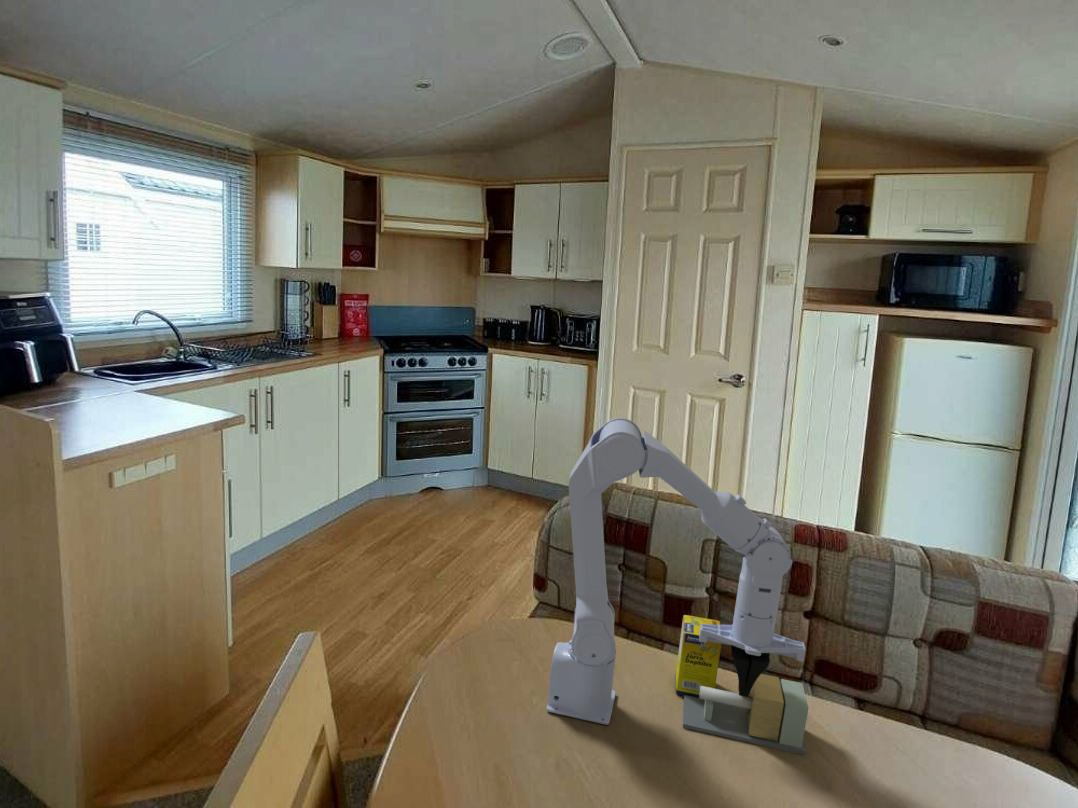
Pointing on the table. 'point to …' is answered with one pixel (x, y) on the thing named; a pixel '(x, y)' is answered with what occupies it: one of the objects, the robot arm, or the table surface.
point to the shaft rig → (729, 718)
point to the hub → (765, 708)
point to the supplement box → (696, 658)
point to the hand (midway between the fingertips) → (743, 692)
